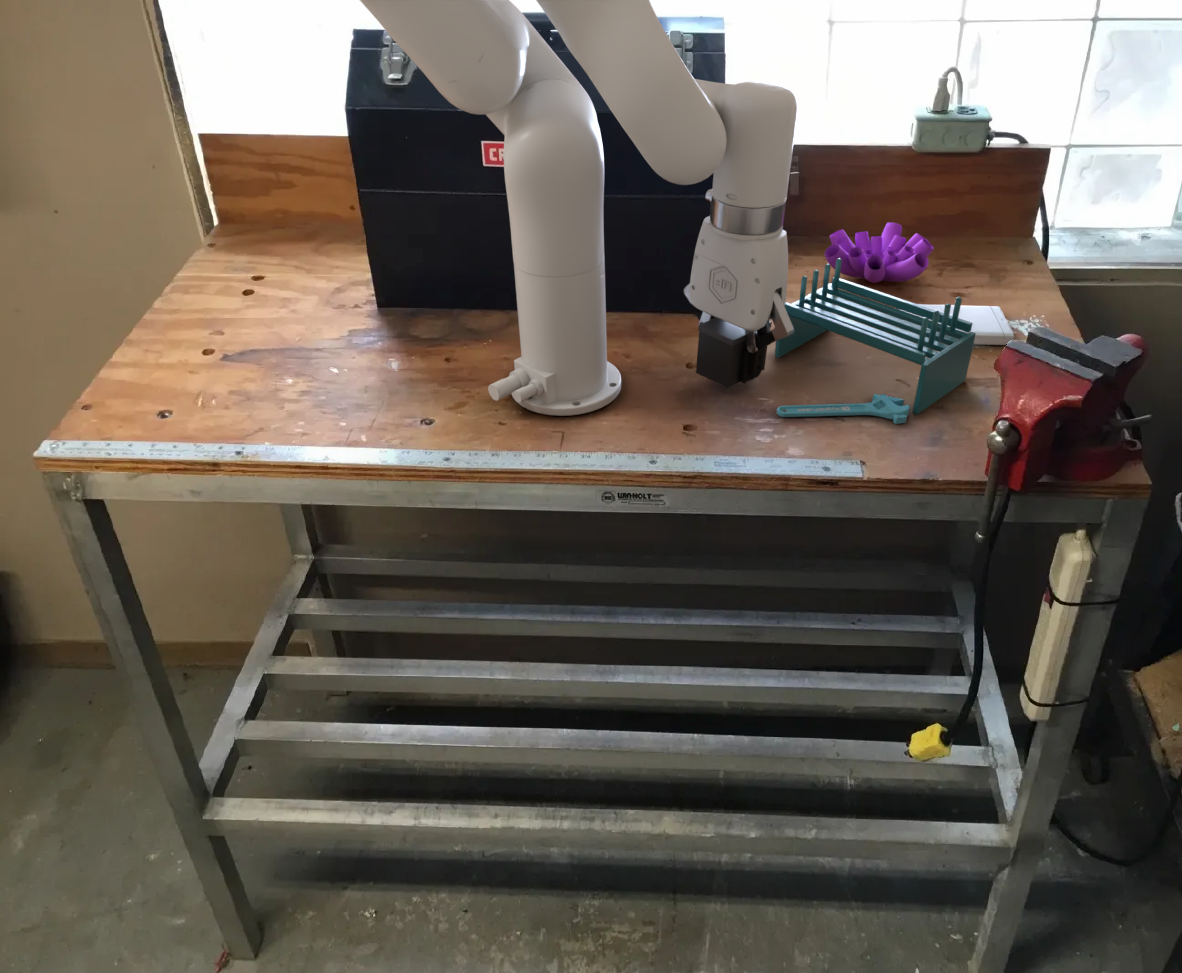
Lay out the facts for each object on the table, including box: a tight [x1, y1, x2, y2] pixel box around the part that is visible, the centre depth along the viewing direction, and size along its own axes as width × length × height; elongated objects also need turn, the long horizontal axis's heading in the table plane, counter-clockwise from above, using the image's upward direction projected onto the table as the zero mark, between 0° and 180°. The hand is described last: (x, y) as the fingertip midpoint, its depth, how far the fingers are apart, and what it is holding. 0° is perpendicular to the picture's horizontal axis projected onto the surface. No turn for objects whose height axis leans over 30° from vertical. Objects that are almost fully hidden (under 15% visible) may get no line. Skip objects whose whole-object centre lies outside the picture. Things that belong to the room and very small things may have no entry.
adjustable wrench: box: [776, 393, 911, 425], centre depth 105 cm, size 14×1×5 cm
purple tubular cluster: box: [824, 222, 934, 284], centre depth 131 cm, size 11×15×10 cm
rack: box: [774, 258, 976, 416], centre depth 111 cm, size 10×19×10 cm, turn 43°
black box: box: [695, 317, 773, 389], centre depth 110 cm, size 7×5×6 cm
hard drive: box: [896, 303, 1015, 346], centre depth 120 cm, size 2×8×12 cm
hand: (730, 367), depth 111 cm, fingers closed on black box, 4 cm apart
